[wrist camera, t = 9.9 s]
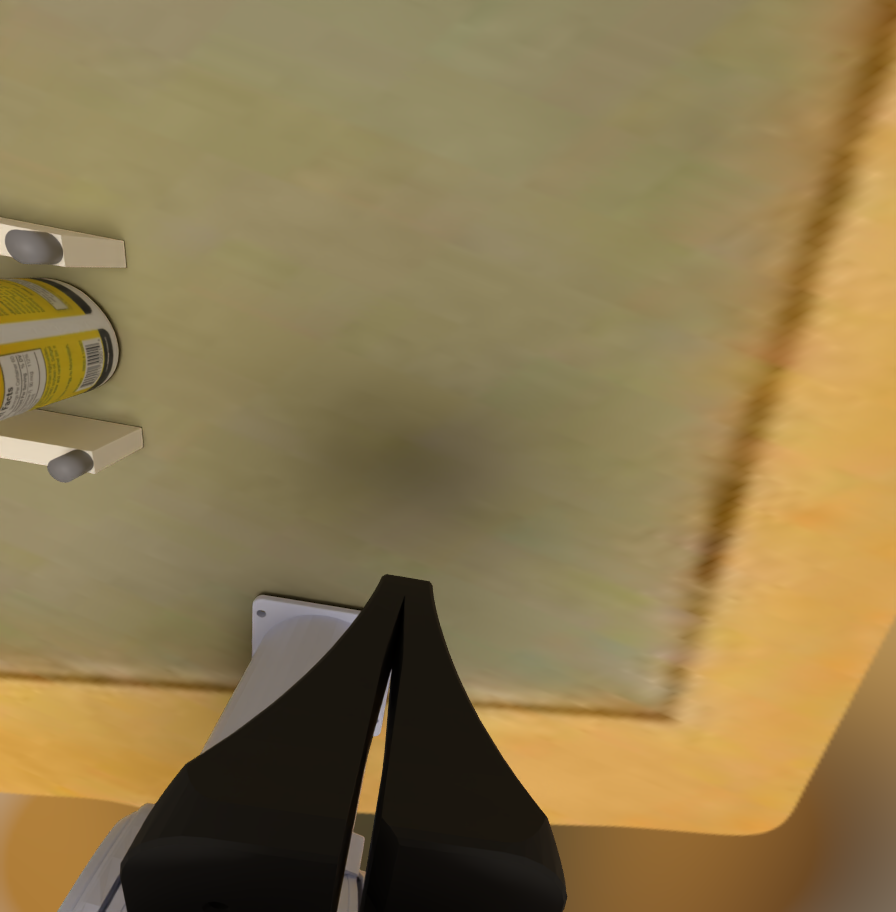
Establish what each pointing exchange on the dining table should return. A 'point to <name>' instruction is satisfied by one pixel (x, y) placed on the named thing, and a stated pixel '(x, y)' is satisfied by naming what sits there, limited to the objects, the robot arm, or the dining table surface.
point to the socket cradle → (48, 433)
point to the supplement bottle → (50, 344)
